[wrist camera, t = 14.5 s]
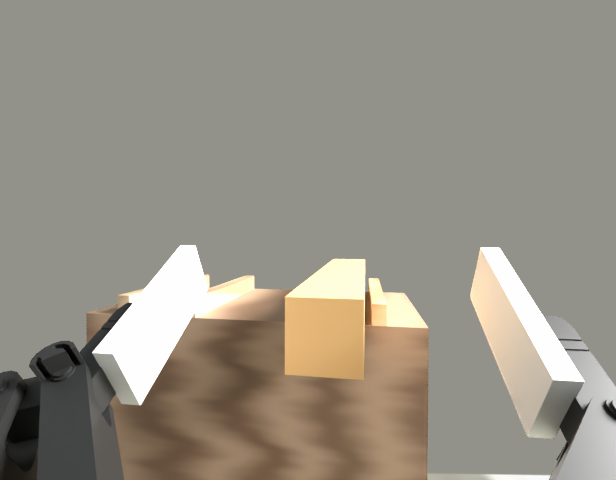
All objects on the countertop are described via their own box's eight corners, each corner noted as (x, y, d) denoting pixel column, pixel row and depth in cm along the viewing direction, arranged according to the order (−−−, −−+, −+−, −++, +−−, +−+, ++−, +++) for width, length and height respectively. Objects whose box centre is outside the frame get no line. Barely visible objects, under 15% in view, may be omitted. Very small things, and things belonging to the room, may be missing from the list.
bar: (284, 374, 15) (284, 296, 15) (333, 289, 39) (333, 258, 39) (363, 380, 15) (364, 299, 15) (364, 290, 39) (364, 259, 39)
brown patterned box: (89, 683, 28) (86, 294, 27) (180, 534, 42) (179, 274, 41) (424, 762, 24) (428, 305, 23) (402, 568, 38) (404, 279, 37)
